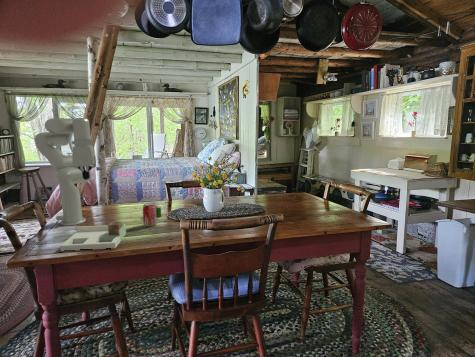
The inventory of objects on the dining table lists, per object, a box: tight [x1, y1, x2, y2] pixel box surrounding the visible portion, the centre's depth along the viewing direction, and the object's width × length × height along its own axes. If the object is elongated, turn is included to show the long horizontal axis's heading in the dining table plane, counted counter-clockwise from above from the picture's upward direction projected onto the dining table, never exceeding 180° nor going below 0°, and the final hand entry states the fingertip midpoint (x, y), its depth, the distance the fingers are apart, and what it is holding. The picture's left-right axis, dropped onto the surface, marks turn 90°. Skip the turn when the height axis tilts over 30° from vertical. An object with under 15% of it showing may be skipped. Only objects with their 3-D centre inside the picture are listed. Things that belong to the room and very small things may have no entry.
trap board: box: [60, 223, 127, 252], centre depth 143 cm, size 23×19×5 cm
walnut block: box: [107, 221, 123, 235], centre depth 147 cm, size 5×5×5 cm
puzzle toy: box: [155, 204, 162, 218], centre depth 183 cm, size 6×6×6 cm
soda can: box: [142, 202, 158, 227], centre depth 166 cm, size 7×7×12 cm
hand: (86, 179), depth 156 cm, fingers closed
